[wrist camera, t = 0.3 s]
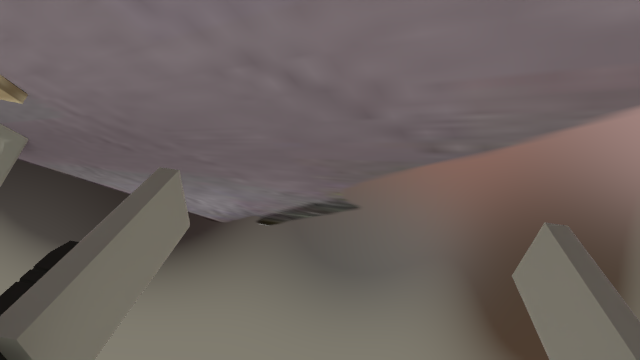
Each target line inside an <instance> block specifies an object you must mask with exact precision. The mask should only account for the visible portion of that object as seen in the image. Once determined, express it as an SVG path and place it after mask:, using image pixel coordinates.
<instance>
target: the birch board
mask: <svg viewBox="0 0 640 360" xmlns="http://www.w3.org/2000/svg"><path fill="white" fill-rule="evenodd" d="M27 96H28V94H26V93H25V92H23V91H22V90H21V89H19V88H18V87H16V86H15V85H14V84H12V83H11V82H9V81H8V80H7V79H5V78H4V77H2V76H1V75H0V99H1V100H6V101H12V102H17V103H22V104H23V102H24V100H25V99H26V97H27Z"/></svg>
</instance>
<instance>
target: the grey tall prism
mask: <svg viewBox="0 0 640 360" xmlns="http://www.w3.org/2000/svg"><path fill="white" fill-rule="evenodd" d="M27 142H28V139H27V138H26V137H24V136H22V135H20V134H18V133H16V132H14V131H12V130H11V129H9V128H7V127H5V126H3V125H1V124H0V186H1V185H2V183H3V181H4V180H5V178H6V176H7V175H8V173H9V172H10V170H11V168H12V166H13V165H14V163H15V161H16V160H17V158H18V157H19V155H20V153H21V152H22V150H23V148H24V147H25V145H26V143H27Z"/></svg>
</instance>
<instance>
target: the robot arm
mask: <svg viewBox="0 0 640 360" xmlns="http://www.w3.org/2000/svg"><path fill="white" fill-rule="evenodd" d="M189 226H190V222H189V217H188V212H187V207H186V202H185V197H184V192H183V187H182V181H181V176H180V171H179V170H175V169H169V168H162V167H159V168H158V169H157V170H156V171H155V172H154V173H153V174H152V175H151V176H150V177H149V178H148V179H147V180H145V181H144V182H143V183H142V184H141V185H140V186H139V187H138V188H137V189H136V190H135V191H134V192H133V193H132V194H130V195H129V196H128V197H127V198H126V199H125V200H124V201H123V202H122V203H121V204H120V205H119V206H118V207H117V208H115V209H114V210H113V211H112V212H111V213H110V214H109V215H108V216H107V217H106V218H105V219H104V220H103V221H102V222H101V223H99V224H98V225H97V226H96V227H95V228H94V229H93V230H92V231H91V232H90V233H89V234H88V235H87V236H85V237H84V238H83V239H82V240H81V241H80V242H75V241H69V242H68V243H66V244H64V245H62V246H60V247H58V248H57V249H55V250H53V251H51V252H50V253H48V254H47V255H46V256H45V257H44V258H43V259H42V260H40V261H39V262H38V263H37V264H36V265H35V266H34V268H33V269H32V270H29V271H28V272H27V273H26V274H25V275H23V276H22V277H21V278H20V281H19V282H15V283H14V284H13V285H12V286H11V287H10V288H9V289H8V290H6V291H5V292H4V293H3V294H2V295H1V296H0V360H95V358H96V357H97V356H98V354H99V353H100V351H101V350H102V349H103V347H104V346H105V344H106V343H107V342H108V340H109V339H110V337H111V336H112V334H113V333H114V332H115V330H116V329H117V327H118V326H119V325H120V323H121V322H122V320H123V319H124V318H125V316H126V315H127V313H128V312H129V310H130V309H131V308H132V306H133V305H134V304H135V302H136V301H137V299H138V298H139V297H140V295H141V294H142V292H143V291H144V289H145V288H146V287H147V285H148V284H149V282H150V281H151V280H152V278H153V277H154V276H155V274H156V273H157V271H158V270H159V268H160V267H161V266H162V264H163V263H164V261H165V260H166V259H167V257H168V256H169V254H170V253H171V252H172V250H173V249H174V247H175V246H176V245H177V243H178V242H179V240H180V239H181V237H182V236H183V235H184V233H185V232H186V231H187V229H188V228H189ZM512 277H513V279H514V281H515V284H516V286H517V288H518V290H519V292H520V295H521V297H522V299H523V301H524V304H525V306H526V308H527V310H528V312H529V315H530V317H531V319H532V321H533V324H534V326H535V328H536V330H537V333H538V335H539V337H540V339H541V342H542V344H543V346H544V348H545V350H546V353H547V355H548V357H549V359H550V360H640V322H639V320H638V319H637V317H636V316H635V315H634V313H633V312H632V311H631V309H630V308H629V307H628V305H627V304H626V303H625V301H624V300H623V299H622V297H621V296H620V295H619V293H618V292H617V291H616V289H615V288H614V287H613V285H612V284H611V283H610V281H609V280H608V279H607V277H606V276H605V275H604V273H603V272H602V271H601V269H600V268H599V267H598V265H597V264H596V263H595V261H594V260H593V259H592V257H591V256H590V255H589V253H588V252H587V251H586V249H585V248H584V247H583V245H582V244H581V243H580V241H579V240H578V239H577V237H576V236H575V235H574V233H573V232H572V231H571V229H570V228H569V227H568V226H564V225H557V224H550V223H544V225H543V226H542V228H541V230H540V231H539V233H538V234H537V236H536V238H535V239H534V241H533V243H532V244H531V246H530V247H529V249H528V251H527V252H526V254H525V255H524V257H523V259H522V260H521V262H520V264H519V265H518V267H517V269H516V270H515V272H514V274H513V275H512Z"/></svg>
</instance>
